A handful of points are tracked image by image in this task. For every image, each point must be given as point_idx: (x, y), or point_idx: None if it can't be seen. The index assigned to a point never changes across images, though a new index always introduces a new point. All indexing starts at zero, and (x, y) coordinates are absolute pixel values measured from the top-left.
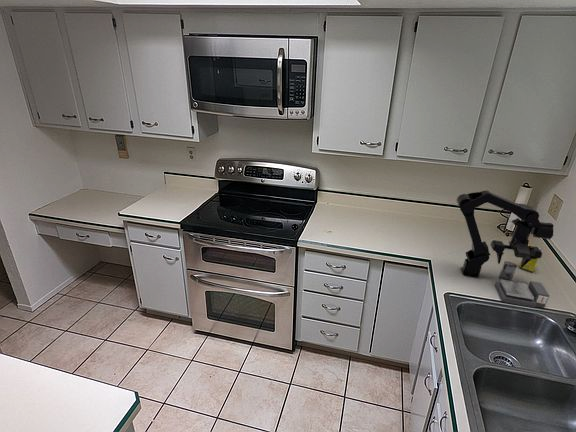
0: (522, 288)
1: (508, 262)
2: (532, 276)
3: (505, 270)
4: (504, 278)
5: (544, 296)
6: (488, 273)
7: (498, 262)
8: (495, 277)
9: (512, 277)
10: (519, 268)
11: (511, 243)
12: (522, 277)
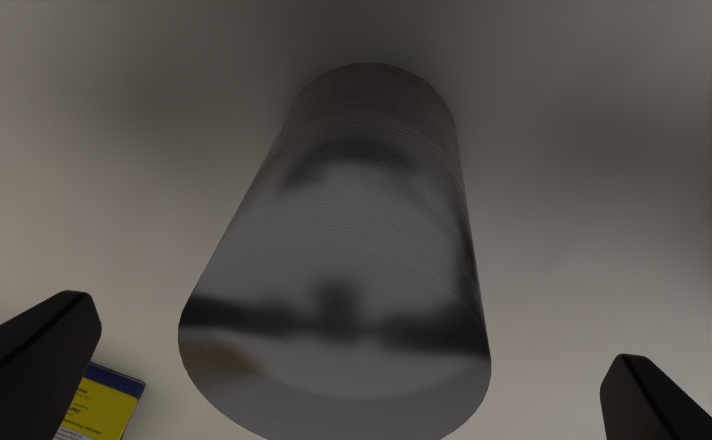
0: None
1: (354, 423)
2: (12, 276)
3: (450, 201)
4: (419, 100)
5: None
6: (562, 241)
7: (685, 394)
8: (505, 162)
9: (280, 132)
10: (137, 381)
11: None
12: (122, 236)
